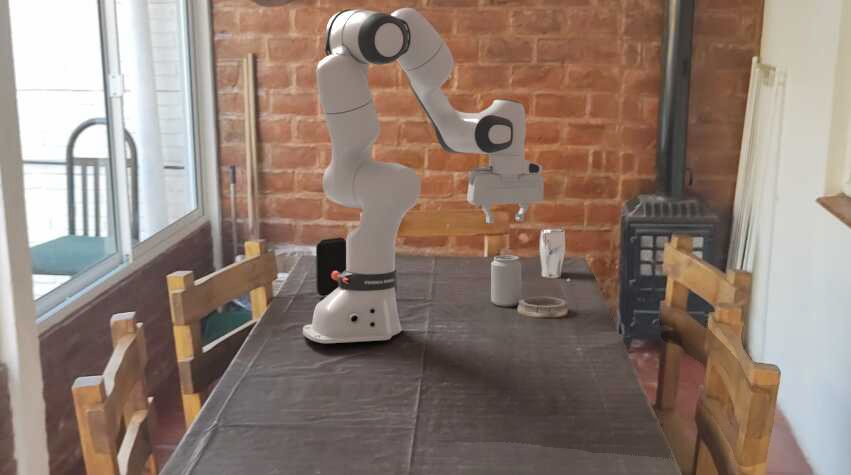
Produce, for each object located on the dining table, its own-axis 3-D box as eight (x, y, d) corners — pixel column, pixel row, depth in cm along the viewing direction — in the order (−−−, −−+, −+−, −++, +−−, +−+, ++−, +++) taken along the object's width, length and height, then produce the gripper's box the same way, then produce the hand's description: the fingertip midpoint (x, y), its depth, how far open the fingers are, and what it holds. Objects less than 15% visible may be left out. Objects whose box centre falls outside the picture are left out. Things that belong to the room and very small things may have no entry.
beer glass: (558, 287, 247) (559, 233, 245) (534, 284, 250) (536, 231, 248) (567, 283, 253) (569, 230, 250) (544, 280, 256) (545, 228, 254)
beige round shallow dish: (534, 319, 211) (534, 309, 211) (508, 308, 222) (508, 298, 221) (577, 314, 216) (577, 304, 216) (549, 304, 227) (550, 294, 226)
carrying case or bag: (345, 290, 241) (345, 235, 239) (353, 292, 239) (352, 236, 236) (313, 296, 233) (313, 239, 231) (321, 298, 231) (320, 241, 229)
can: (520, 300, 230) (520, 253, 228) (521, 307, 223) (522, 259, 221) (490, 300, 230) (490, 253, 228) (491, 307, 223) (491, 259, 221)
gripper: (475, 167, 215) (474, 225, 218) (548, 166, 224) (546, 221, 226) (463, 165, 221) (462, 221, 223) (534, 164, 230) (532, 218, 232)
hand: (505, 221), depth 225 cm, fingers open, 7 cm apart
